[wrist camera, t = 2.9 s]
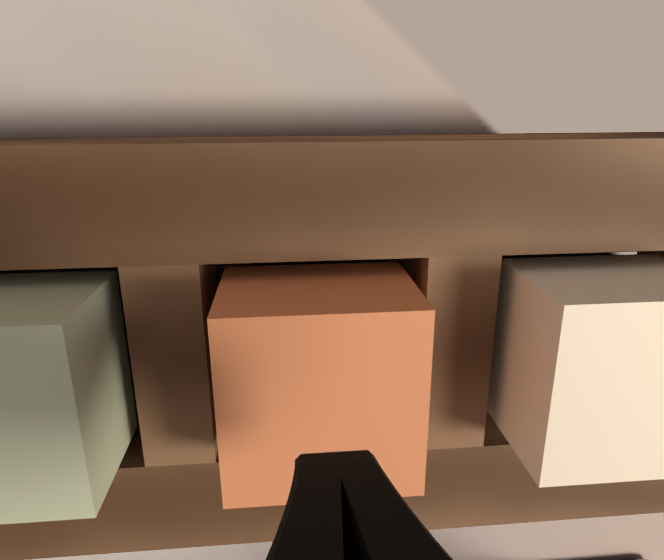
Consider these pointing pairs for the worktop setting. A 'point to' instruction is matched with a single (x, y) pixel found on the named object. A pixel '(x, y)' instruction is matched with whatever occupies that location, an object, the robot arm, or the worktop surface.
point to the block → (61, 394)
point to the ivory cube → (581, 367)
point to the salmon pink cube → (318, 373)
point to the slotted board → (317, 245)
